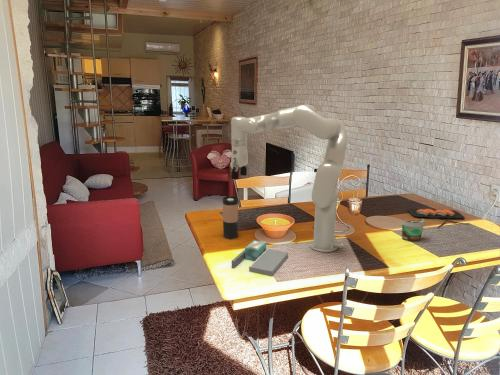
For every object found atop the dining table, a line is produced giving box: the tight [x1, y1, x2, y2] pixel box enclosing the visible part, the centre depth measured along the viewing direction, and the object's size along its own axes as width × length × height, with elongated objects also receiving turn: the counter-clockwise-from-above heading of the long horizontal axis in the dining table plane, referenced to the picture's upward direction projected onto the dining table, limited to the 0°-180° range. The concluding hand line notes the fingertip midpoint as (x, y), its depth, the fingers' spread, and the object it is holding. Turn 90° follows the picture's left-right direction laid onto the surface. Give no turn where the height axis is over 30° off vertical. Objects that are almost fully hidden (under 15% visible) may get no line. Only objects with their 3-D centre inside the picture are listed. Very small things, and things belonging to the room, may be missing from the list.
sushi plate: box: [407, 208, 470, 229], centre depth 218 cm, size 29×30×4 cm
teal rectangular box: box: [244, 239, 267, 261], centre depth 169 cm, size 6×10×5 cm, turn 156°
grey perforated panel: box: [231, 248, 289, 277], centre depth 163 cm, size 18×20×3 cm
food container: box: [400, 218, 426, 243], centre depth 187 cm, size 12×6×10 cm, turn 105°
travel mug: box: [222, 195, 239, 240], centre depth 190 cm, size 8×8×20 cm
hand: (239, 177), depth 188 cm, fingers open, 9 cm apart
